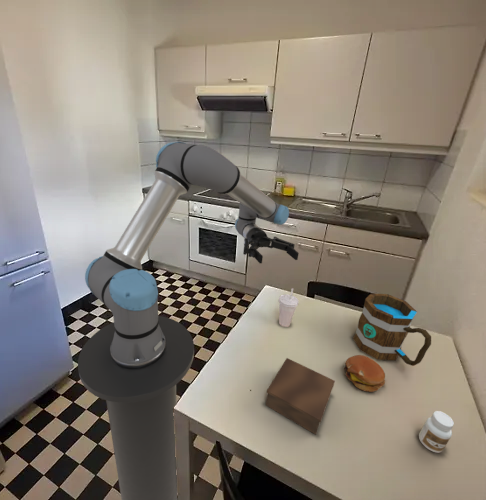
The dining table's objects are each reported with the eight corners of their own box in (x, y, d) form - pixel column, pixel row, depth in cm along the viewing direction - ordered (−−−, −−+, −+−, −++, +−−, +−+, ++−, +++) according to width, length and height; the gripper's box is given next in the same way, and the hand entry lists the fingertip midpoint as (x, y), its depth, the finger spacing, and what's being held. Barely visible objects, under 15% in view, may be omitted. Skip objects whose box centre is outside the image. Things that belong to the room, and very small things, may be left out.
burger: (381, 371, 77) (385, 359, 75) (383, 398, 69) (389, 385, 68) (343, 359, 81) (347, 347, 79) (341, 383, 73) (345, 370, 71)
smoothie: (290, 332, 91) (297, 295, 85) (272, 324, 94) (277, 289, 88) (296, 322, 96) (303, 286, 90) (278, 315, 99) (284, 280, 93)
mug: (343, 335, 91) (355, 296, 85) (373, 327, 95) (386, 289, 89) (398, 383, 74) (417, 339, 68) (431, 370, 79) (451, 328, 73)
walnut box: (264, 405, 66) (266, 390, 64) (284, 371, 75) (286, 357, 74) (316, 436, 60) (321, 420, 58) (330, 395, 69) (335, 380, 67)
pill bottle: (421, 449, 59) (435, 424, 56) (415, 429, 62) (427, 405, 59) (446, 456, 57) (461, 432, 54) (438, 436, 61) (451, 412, 58)
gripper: (281, 242, 118) (309, 264, 100) (225, 246, 111) (244, 271, 93) (283, 225, 115) (313, 245, 97) (226, 228, 108) (246, 250, 90)
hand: (279, 258), depth 95 cm, fingers open, 13 cm apart
